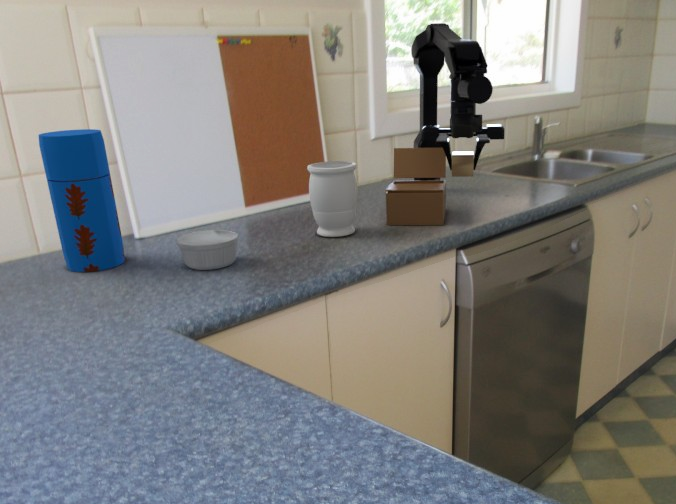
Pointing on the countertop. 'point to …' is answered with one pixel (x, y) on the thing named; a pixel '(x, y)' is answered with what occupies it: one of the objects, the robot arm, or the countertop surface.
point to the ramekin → (208, 249)
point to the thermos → (82, 199)
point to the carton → (416, 202)
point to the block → (463, 164)
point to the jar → (333, 197)
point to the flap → (419, 163)
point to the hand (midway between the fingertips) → (462, 170)
